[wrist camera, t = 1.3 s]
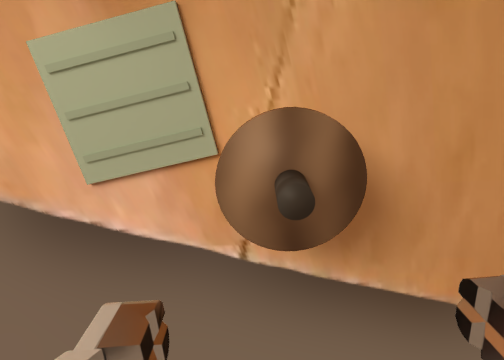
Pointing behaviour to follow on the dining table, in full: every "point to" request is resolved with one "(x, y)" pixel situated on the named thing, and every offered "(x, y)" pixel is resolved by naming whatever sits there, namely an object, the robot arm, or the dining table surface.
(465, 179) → the dining table surface
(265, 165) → the lid
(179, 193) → the dining table surface
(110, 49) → the trivet
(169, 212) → the dining table surface
